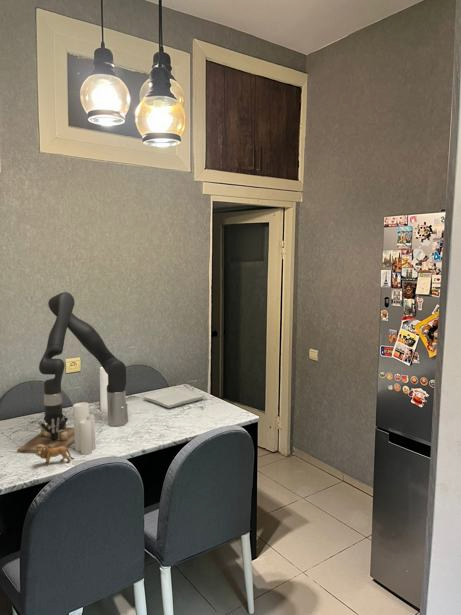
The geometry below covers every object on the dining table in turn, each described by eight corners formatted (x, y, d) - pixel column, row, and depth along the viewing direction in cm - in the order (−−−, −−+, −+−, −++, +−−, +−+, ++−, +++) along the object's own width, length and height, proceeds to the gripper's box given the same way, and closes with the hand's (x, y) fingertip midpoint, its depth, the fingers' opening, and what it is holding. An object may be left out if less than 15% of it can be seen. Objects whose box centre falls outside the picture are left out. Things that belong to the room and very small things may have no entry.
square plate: (178, 392, 294) (178, 386, 293) (206, 401, 274) (205, 394, 273) (142, 401, 275) (141, 395, 275) (168, 411, 255) (168, 404, 255)
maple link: (39, 434, 216) (38, 425, 216) (46, 432, 220) (46, 423, 219) (62, 441, 208) (62, 432, 207) (69, 438, 211) (69, 429, 211)
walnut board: (88, 430, 226) (87, 415, 226) (61, 453, 199) (60, 436, 198) (49, 429, 228) (48, 414, 228) (17, 452, 201) (16, 435, 200)
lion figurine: (36, 469, 184) (35, 447, 183) (35, 464, 188) (34, 443, 188) (74, 462, 190) (73, 441, 189) (73, 457, 195) (72, 436, 194)
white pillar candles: (72, 448, 204) (70, 404, 202) (87, 444, 209) (85, 401, 207) (84, 455, 196) (82, 410, 194) (100, 450, 201) (98, 406, 199)
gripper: (41, 407, 199) (43, 446, 200) (71, 401, 208) (72, 438, 210) (34, 404, 204) (36, 442, 206) (63, 398, 214) (64, 434, 215)
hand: (54, 440), depth 208 cm, fingers closed
